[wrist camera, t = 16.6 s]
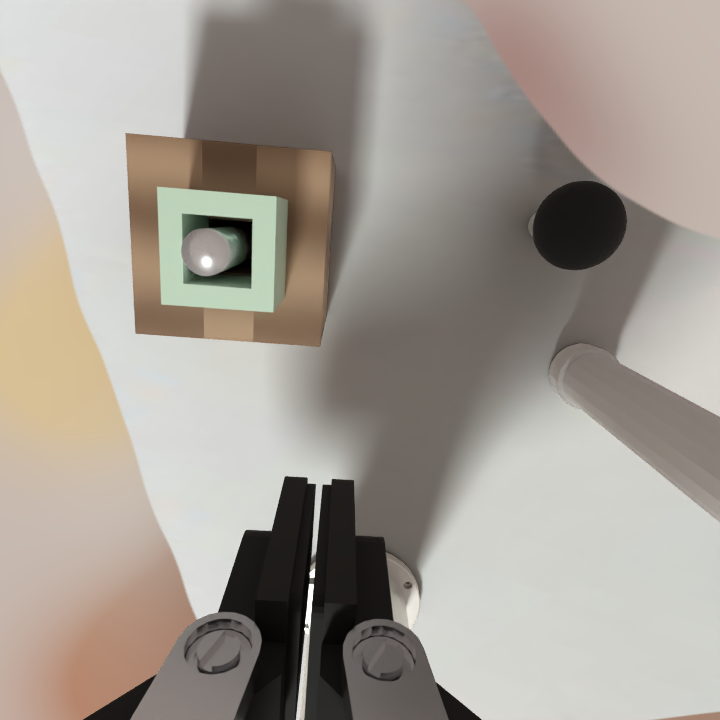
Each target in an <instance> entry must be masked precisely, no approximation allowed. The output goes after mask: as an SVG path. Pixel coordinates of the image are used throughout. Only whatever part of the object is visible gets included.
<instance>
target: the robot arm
mask: <svg viewBox="0 0 720 720" xmlns="http://www.w3.org/2000/svg"><path fill="white" fill-rule="evenodd" d="M307 481H308V479H307V478H305V477H288V476H285V478H284V483H283V487H282V491H281V495H280V499H279V503H278V507H277V511H276V516H275V520H274V524H273V528H272V531H258V530H246V531H245V533H244V535H243V538H242V541H241V544H240V547H239V550H238V553H237V556H236V559H235V563H234V566H233V569H232V572H231V575H230V578H229V581H228V584H227V587H226V590H225V593H224V596H223V599H222V602H221V605H220V608H219V611H218V613H214V614H209V615H207V616H205V617H202V618H200V619H198V620H196V621H195V622H194V623H192V624H191V625H190V626H188V627H187V628H186V629H185V630H184V632H183V633H182V634H181V635H180V637H179V638H178V640H177V641H176V643H175V645H174V646H173V648H172V650H171V651H170V653H169V655H168V657H167V658H166V660H165V662H164V663H163V665H162V667H161V668H160V670H159V672H158V673H157V674H156V675H155V676H153V677H151V678H150V679H148V680H146V681H145V682H143V683H142V684H140V685H138V686H137V687H135V688H134V689H132V690H130V691H129V692H127V693H125V694H124V695H122V696H121V697H119V698H118V699H116V700H114V701H112V702H111V703H109V704H108V705H106V706H104V707H103V708H101V709H100V710H98V711H96V712H95V713H93V714H91V715H90V716H88V717H87V718H85V719H84V720H296V712H297V702H298V693H299V683H300V673H301V664H302V654H303V644H304V635H305V632H306V633H307V634H308V639H307V649H306V660H305V670H304V681H303V691H302V702H301V712H300V720H481V719H480V718H479V717H478V716H477V715H475V714H474V713H473V712H472V711H470V710H469V709H468V708H467V707H466V706H464V705H463V704H462V703H461V702H459V701H458V700H457V699H456V698H455V697H453V696H452V695H451V694H450V693H449V692H447V691H446V690H445V689H444V688H442V687H441V686H440V685H439V684H438V683H436V682H435V679H434V676H433V673H432V670H431V668H430V665H429V662H428V659H427V656H426V653H425V650H424V648H423V646H422V644H421V642H420V640H419V638H418V637H417V636H416V635H415V634H414V633H413V632H412V631H411V628H412V627H413V625H414V623H415V621H416V619H417V618H418V614H419V610H420V595H419V589H418V585H417V582H416V579H415V577H414V576H413V574H412V572H411V571H410V569H409V568H408V567H407V566H406V565H405V564H404V563H403V562H402V561H400V560H399V559H398V558H396V557H395V556H393V555H391V554H389V553H387V552H386V550H385V542H384V538H383V537H371V536H355V504H354V480H339V479H332V485H323V487H322V498H321V509H320V520H319V530H318V541H317V552H316V561H315V562H314V563H313V564H312V565H311V554H312V538H313V522H314V506H315V489H316V484H307Z"/></svg>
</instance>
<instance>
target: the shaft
mask: <svg viewBox="0 0 720 720" xmlns="http://www.w3.org/2000/svg"><path fill="white" fill-rule="evenodd" d="M181 254H182V258H183V261H184V263H185V264H186V266H187V267H188V268H189V269H190V270H191V271H192V272H194V273H196V274H198V275H201V276H212V275H215V274H217V273H220V272H222V271H224V270H227V269H229V268H231V267H234V266H236V265H238V264H241V263H243V262H246V261H248V260H250V259H252V225H245V226H231V227H218V228H204V229H197V230H194V231H192V232H190V233H189V234H188V235H187V236H186V237H185V239H184V240H183V243H182V247H181Z"/></svg>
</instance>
